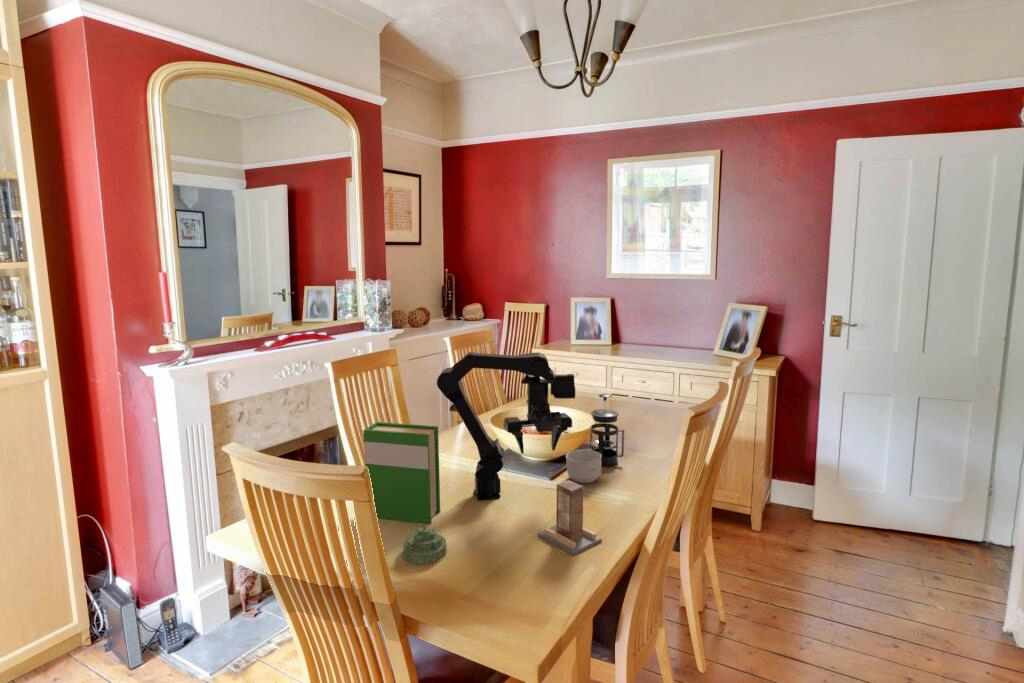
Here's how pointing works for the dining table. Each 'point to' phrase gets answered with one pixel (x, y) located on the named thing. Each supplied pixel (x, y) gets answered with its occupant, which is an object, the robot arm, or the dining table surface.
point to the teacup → (584, 465)
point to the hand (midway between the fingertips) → (537, 451)
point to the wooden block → (569, 510)
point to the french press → (606, 435)
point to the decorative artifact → (424, 547)
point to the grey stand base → (567, 544)
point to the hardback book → (403, 470)
